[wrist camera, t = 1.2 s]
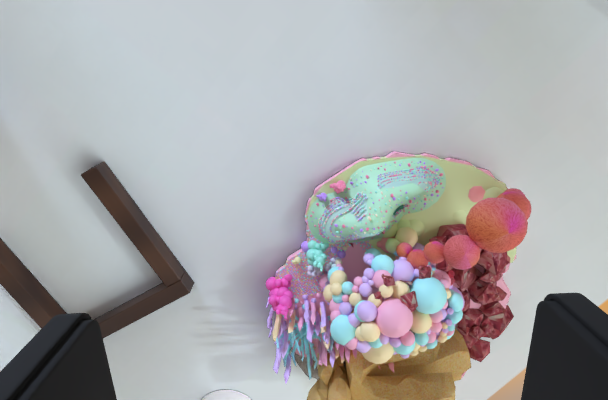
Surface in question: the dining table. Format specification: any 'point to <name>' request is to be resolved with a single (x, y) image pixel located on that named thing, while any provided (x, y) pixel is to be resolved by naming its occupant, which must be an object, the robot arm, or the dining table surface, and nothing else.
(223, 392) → the champagne flute
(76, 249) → the dining table surface
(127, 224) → the wooden frame
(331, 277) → the pastel sphere sculpture
